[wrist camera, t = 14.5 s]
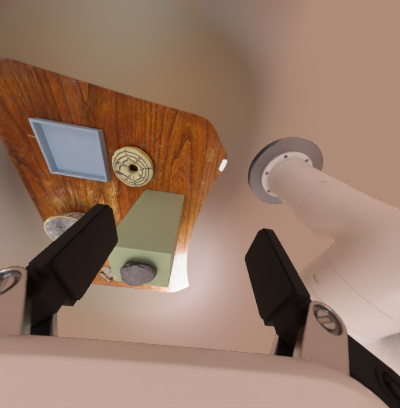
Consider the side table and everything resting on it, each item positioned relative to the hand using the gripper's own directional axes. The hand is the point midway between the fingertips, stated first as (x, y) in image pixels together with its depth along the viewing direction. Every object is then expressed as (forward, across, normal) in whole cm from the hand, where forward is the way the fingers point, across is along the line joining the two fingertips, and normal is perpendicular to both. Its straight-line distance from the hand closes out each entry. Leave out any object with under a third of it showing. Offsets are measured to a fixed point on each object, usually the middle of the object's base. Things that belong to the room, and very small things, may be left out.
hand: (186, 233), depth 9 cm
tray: (+32, +32, +8) cm, 46 cm away
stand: (+32, +8, +22) cm, 40 cm away
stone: (+10, +8, +22) cm, 26 cm away
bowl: (+32, +35, +33) cm, 58 cm away
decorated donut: (+32, +16, +9) cm, 37 cm away
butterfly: (+32, +33, +66) cm, 81 cm away
